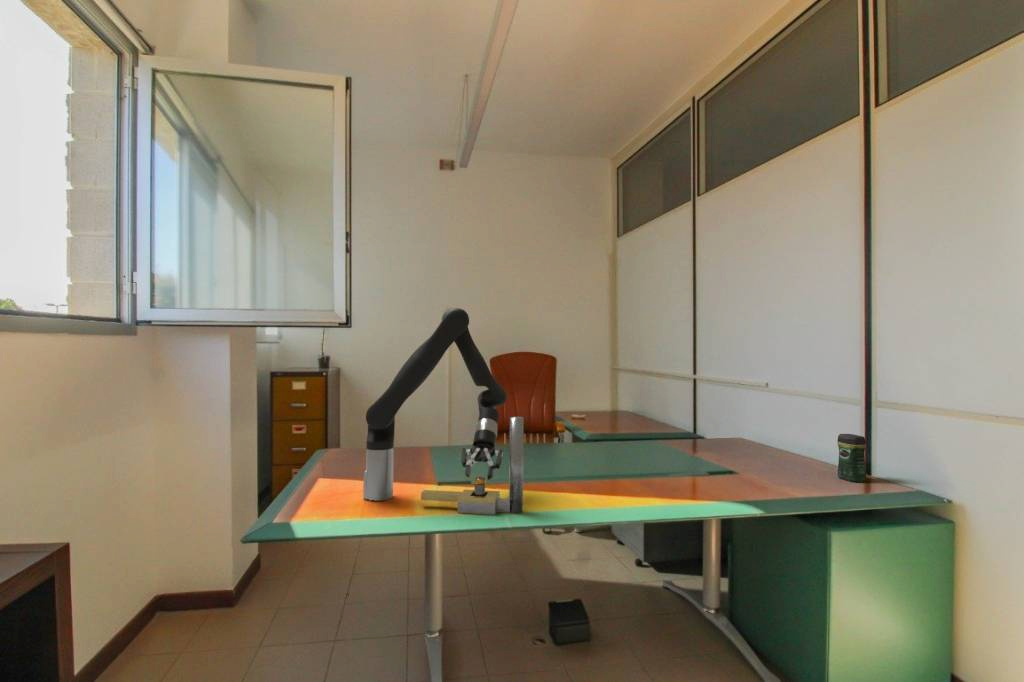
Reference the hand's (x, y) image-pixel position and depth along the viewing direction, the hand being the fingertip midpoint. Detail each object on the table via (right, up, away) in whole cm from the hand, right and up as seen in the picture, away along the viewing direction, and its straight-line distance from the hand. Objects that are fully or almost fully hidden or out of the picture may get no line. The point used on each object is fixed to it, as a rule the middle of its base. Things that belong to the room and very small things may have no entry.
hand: (478, 477), depth 162 cm
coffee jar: (+150, -13, +44) cm, 157 cm away
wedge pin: (0, -11, +2) cm, 11 cm away
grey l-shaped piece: (-2, -11, +2) cm, 11 cm away
